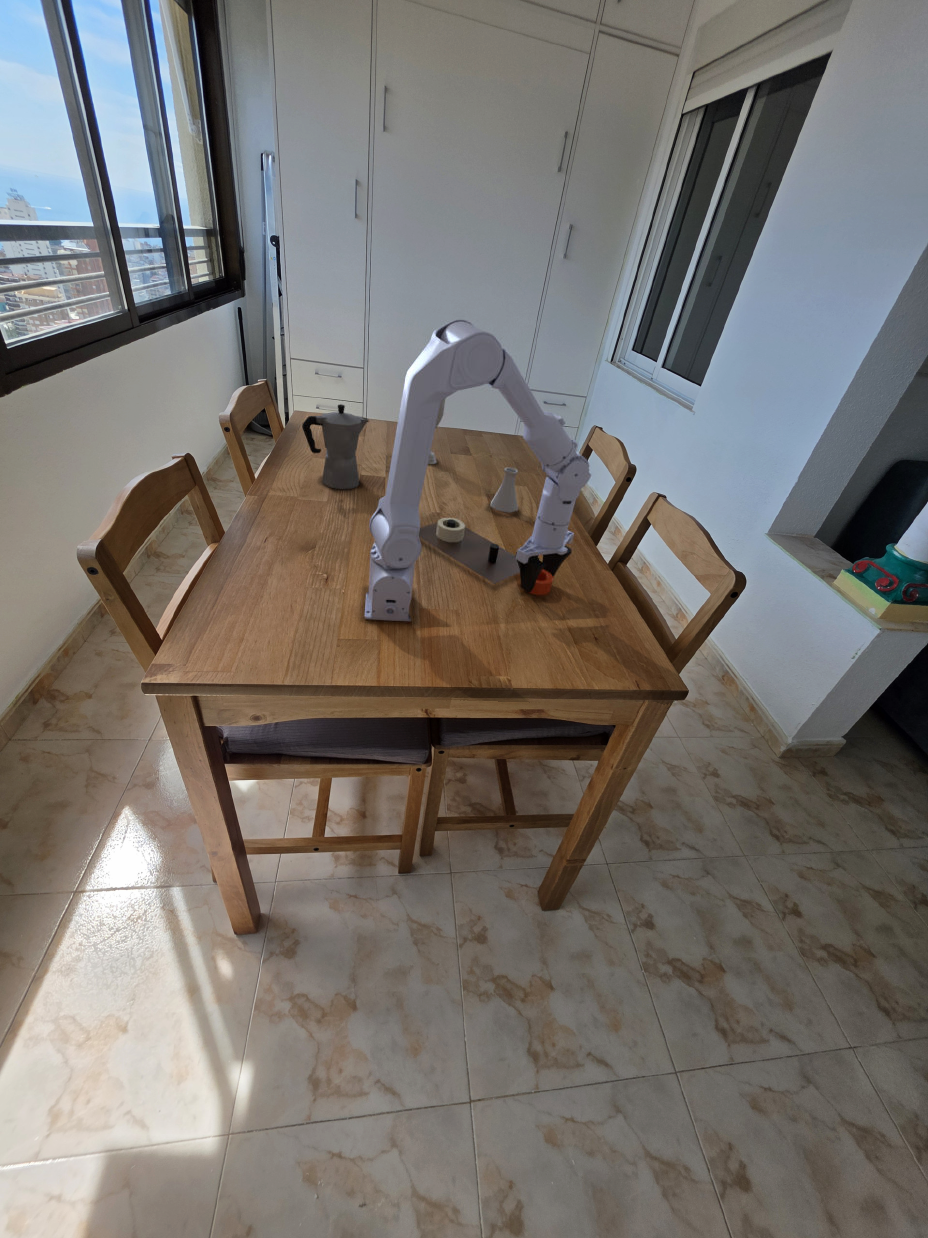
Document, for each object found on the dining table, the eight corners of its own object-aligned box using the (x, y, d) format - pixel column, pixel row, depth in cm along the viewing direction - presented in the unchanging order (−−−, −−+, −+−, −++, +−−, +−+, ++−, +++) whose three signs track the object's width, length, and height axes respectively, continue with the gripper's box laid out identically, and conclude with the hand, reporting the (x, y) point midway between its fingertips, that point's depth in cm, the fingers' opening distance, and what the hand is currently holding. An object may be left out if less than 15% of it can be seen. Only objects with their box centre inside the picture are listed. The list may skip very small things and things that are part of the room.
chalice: (411, 456, 150) (417, 388, 139) (433, 455, 152) (441, 389, 142) (420, 465, 145) (427, 396, 134) (443, 465, 147) (452, 397, 137)
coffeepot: (359, 472, 135) (361, 398, 124) (374, 487, 129) (377, 410, 118) (298, 476, 127) (294, 398, 117) (310, 493, 121) (308, 411, 111)
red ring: (554, 595, 99) (558, 583, 98) (526, 596, 98) (530, 584, 96) (542, 579, 104) (546, 567, 102) (516, 580, 102) (519, 567, 100)
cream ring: (466, 542, 111) (468, 530, 109) (440, 542, 109) (441, 530, 107) (458, 529, 115) (460, 517, 113) (433, 529, 113) (435, 517, 111)
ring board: (532, 570, 107) (537, 550, 105) (493, 588, 100) (498, 568, 97) (449, 522, 119) (451, 503, 117) (408, 535, 112) (410, 515, 109)
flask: (483, 509, 127) (490, 469, 122) (496, 500, 133) (503, 461, 127) (510, 519, 125) (519, 478, 119) (522, 509, 131) (531, 470, 125)
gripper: (546, 538, 86) (528, 607, 93) (594, 518, 95) (574, 582, 103) (513, 520, 89) (498, 588, 97) (562, 503, 98) (545, 566, 106)
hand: (535, 584), depth 100 cm, fingers closed on red ring, 5 cm apart
